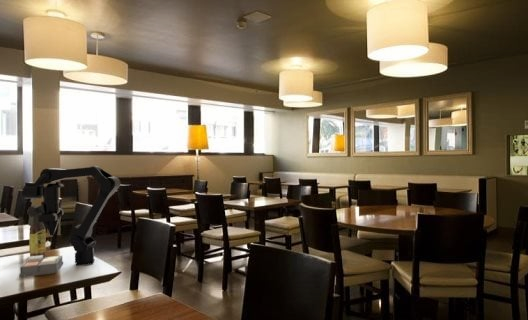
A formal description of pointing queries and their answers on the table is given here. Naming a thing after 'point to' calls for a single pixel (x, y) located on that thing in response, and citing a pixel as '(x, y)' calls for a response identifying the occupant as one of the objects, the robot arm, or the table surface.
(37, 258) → the grey key
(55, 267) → the keypad housing
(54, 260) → the cream key
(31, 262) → the terracotta key
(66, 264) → the table surface
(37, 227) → the sauce bottle
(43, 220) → the robot arm
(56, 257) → the sage key
